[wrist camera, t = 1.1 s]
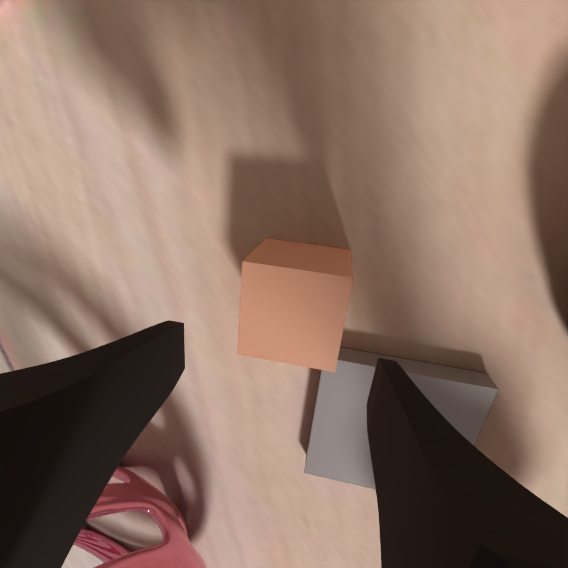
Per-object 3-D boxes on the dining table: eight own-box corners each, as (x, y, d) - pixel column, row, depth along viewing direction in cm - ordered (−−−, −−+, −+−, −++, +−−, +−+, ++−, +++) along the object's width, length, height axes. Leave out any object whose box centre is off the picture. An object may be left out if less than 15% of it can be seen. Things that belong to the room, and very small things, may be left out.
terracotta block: (336, 324, 20) (335, 372, 15) (260, 312, 21) (237, 353, 16) (350, 249, 18) (353, 277, 14) (266, 237, 19) (242, 261, 14)
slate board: (441, 485, 23) (447, 505, 22) (306, 455, 24) (304, 472, 23) (487, 373, 19) (498, 389, 18) (325, 344, 21) (324, 357, 19)
